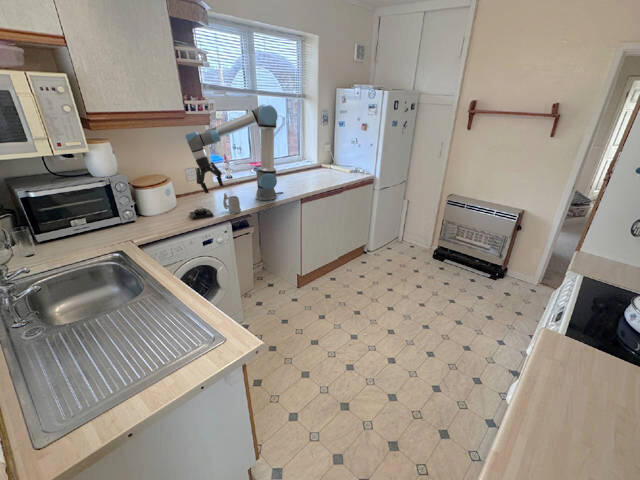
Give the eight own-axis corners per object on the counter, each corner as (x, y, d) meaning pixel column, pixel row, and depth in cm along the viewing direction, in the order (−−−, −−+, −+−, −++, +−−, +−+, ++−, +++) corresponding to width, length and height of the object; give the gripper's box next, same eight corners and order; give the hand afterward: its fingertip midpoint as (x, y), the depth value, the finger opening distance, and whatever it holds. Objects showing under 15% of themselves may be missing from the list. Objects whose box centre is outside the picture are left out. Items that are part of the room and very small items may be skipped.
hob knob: (203, 209, 204) (203, 206, 204) (205, 211, 201) (204, 208, 200) (196, 210, 202) (195, 207, 201) (197, 212, 199) (197, 209, 198)
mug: (237, 214, 208) (235, 196, 203) (221, 212, 210) (218, 194, 205) (243, 210, 214) (241, 193, 209) (227, 209, 217) (225, 191, 212)
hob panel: (209, 212, 210) (208, 206, 208) (213, 216, 202) (212, 210, 201) (190, 215, 204) (189, 209, 202) (193, 220, 196) (192, 213, 195)
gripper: (211, 153, 216) (223, 183, 225) (181, 164, 197) (196, 196, 206) (218, 151, 212) (231, 182, 221) (189, 162, 193) (204, 195, 202)
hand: (214, 189), depth 214 cm, fingers open, 13 cm apart
